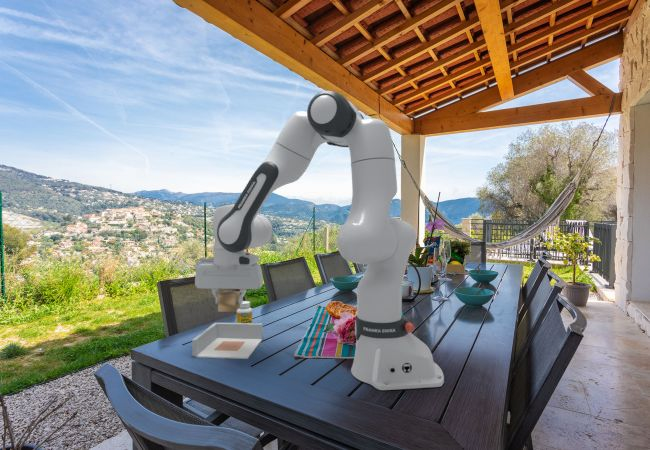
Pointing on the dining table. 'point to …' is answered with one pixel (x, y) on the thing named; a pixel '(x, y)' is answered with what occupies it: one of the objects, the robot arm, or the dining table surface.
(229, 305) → the oak cube
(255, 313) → the dining table surface
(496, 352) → the dining table surface
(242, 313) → the supplement bottle
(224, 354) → the corner arena
